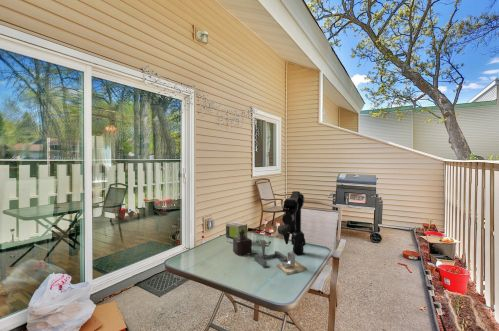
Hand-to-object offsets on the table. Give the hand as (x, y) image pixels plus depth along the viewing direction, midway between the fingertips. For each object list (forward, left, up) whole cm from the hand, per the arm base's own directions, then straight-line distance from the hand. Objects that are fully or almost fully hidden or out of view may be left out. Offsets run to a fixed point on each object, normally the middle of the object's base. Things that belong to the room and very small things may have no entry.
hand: (291, 246), depth 150 cm
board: (0, 0, -13) cm, 13 cm away
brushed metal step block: (+2, 0, -12) cm, 12 cm away
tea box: (+11, -60, -13) cm, 62 cm away
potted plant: (+16, -35, -13) cm, 41 cm away
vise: (+6, -14, -13) cm, 20 cm away
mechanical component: (+5, -26, -13) cm, 29 cm away
